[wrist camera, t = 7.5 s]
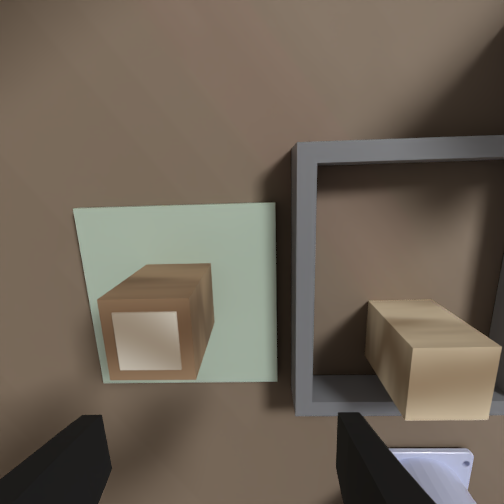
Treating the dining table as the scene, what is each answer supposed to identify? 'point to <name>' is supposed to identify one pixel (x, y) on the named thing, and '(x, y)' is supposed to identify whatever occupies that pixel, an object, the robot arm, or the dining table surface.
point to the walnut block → (158, 322)
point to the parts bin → (303, 267)
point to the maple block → (431, 360)
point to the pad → (188, 252)
